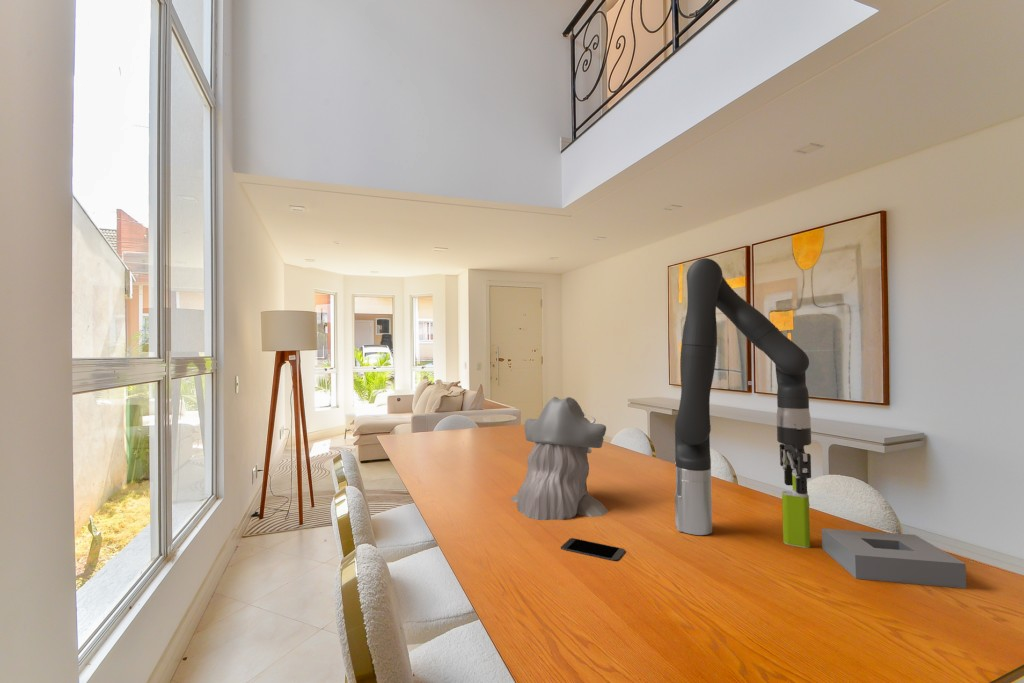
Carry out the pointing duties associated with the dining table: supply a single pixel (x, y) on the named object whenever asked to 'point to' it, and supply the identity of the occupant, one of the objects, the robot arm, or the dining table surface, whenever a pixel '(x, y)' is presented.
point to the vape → (796, 517)
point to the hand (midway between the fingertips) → (795, 489)
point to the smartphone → (593, 549)
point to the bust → (560, 463)
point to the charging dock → (893, 558)
